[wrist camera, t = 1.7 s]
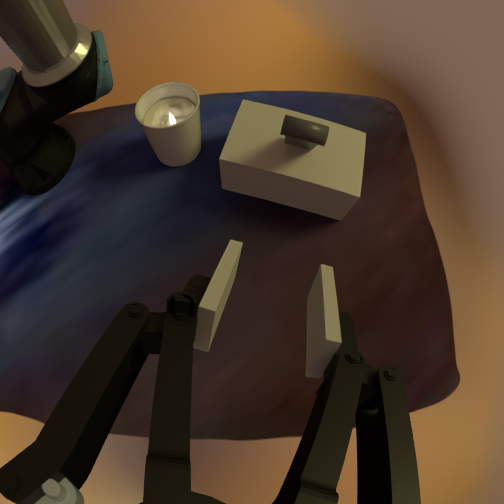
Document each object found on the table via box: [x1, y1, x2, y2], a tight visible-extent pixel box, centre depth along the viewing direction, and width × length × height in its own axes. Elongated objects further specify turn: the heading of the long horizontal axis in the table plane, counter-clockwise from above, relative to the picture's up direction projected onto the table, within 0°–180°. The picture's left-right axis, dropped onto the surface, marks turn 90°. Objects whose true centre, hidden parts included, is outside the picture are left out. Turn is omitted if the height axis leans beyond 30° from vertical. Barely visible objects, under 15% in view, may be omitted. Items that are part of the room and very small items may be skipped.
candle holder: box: [135, 82, 201, 167], centre depth 45 cm, size 10×10×12 cm
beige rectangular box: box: [219, 100, 366, 221], centre depth 46 cm, size 20×12×9 cm, turn 75°
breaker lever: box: [280, 115, 329, 150], centre depth 36 cm, size 5×2×11 cm, turn 75°
